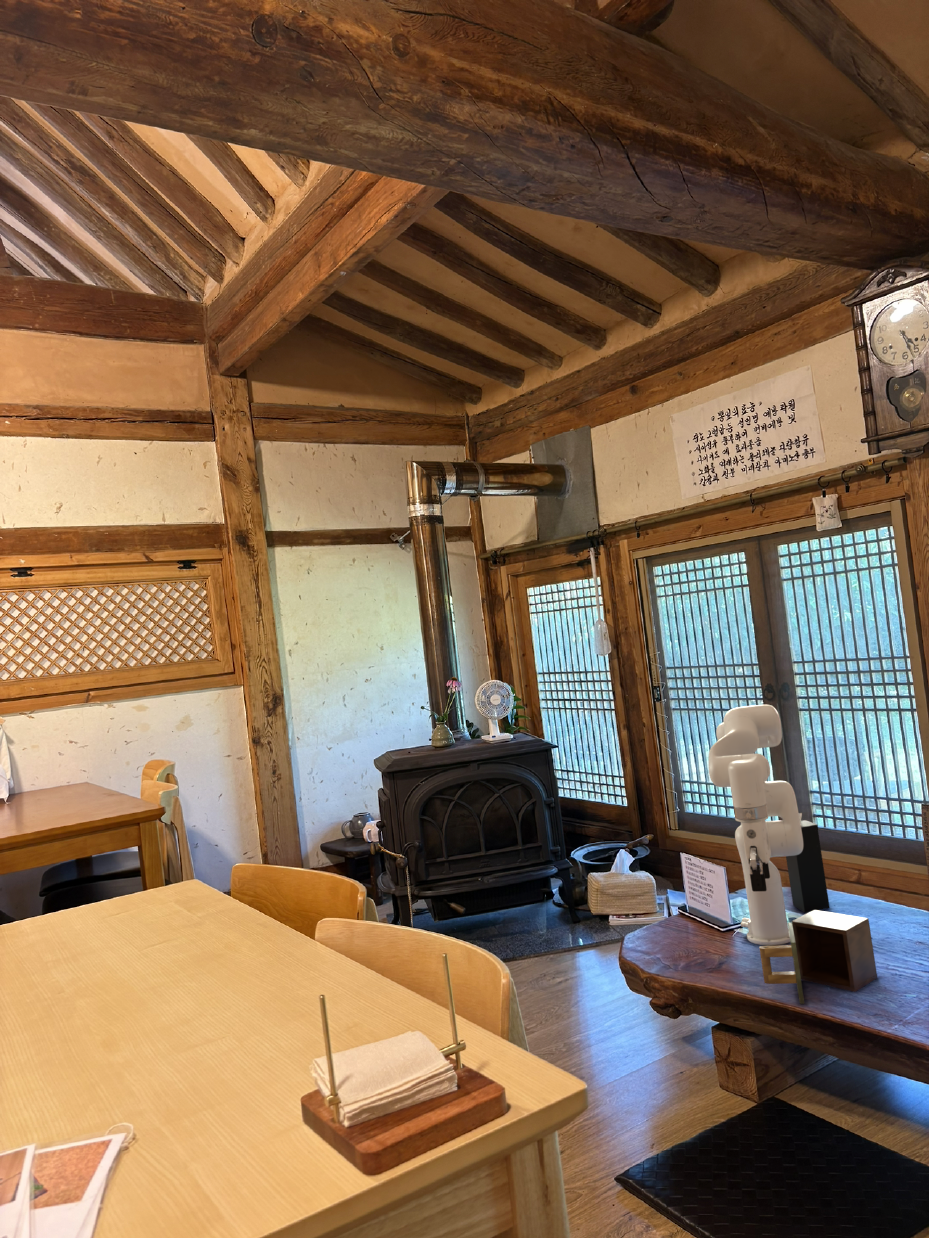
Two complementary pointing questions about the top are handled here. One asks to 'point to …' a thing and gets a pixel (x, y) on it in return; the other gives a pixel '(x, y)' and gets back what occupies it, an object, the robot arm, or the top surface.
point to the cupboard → (835, 950)
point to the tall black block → (808, 872)
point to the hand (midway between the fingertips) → (761, 884)
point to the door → (782, 952)
